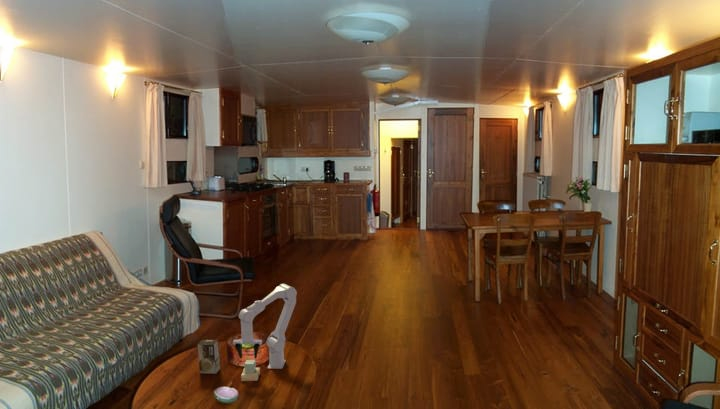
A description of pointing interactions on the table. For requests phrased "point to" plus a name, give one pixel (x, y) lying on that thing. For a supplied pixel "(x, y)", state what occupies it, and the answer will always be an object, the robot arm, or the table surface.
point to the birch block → (250, 375)
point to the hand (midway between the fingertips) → (248, 357)
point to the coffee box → (209, 356)
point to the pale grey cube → (250, 366)
